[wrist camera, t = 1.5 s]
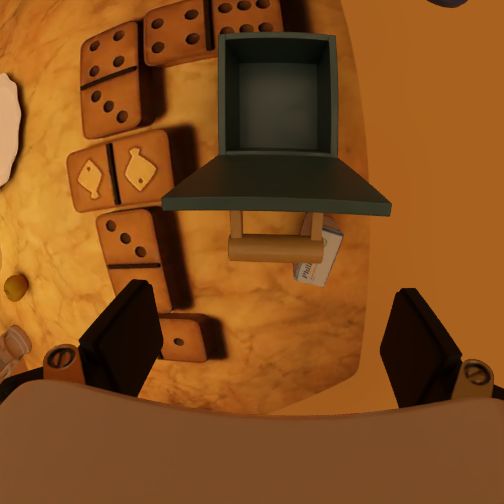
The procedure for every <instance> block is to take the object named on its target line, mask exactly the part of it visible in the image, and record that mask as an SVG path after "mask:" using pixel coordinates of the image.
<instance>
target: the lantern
mask: <svg viewBox="0 0 504 504" xmlns="http://www.w3.org/2000/svg"><path fill="white" fill-rule="evenodd" d="M3 338H4V339H3ZM31 347H32V345H31V342H30V340H29V338H28V336H27V335H26V333H25V332H24V331H23V330H22V329H21V328H20V327H18V326H16V325H14V326H12V327H10V328H9V329H8V331H7V332H6V333H4V334H2V335H1V336H0V383H1V381H2V380H3V379H4V378H7V377H8V376H9V375H10V373H12V371H13V370H14V369H15V368H16V367H17V366H18V364H19V363H20V362H21V361H22V359H23V356H24V355H25V354H28V353H29V351H30V349H31ZM13 364H16V365H15V366H14V367H13V368H12V369H11V367H12V365H13ZM8 370H9V371H8ZM7 371H8V374H5V373H6V372H7Z"/></svg>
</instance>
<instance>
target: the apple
mask: <svg viewBox="0 0 504 504" xmlns="http://www.w3.org/2000/svg"><path fill="white" fill-rule="evenodd" d="M27 287H28V285H27V281H26V279H25V278H24V277H23V276H22V275H14V276H11V277H9V278H8V279H7V280H6V282H5V284H4V291H5V293H6V295H7V297H8V299H9V300H11V301H13V302H16V301H19V300H20V299H21V298H22V297H23V296H24V295H25V293H26V290H27Z"/></svg>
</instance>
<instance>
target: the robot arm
mask: <svg viewBox="0 0 504 504" xmlns="http://www.w3.org/2000/svg"><path fill="white" fill-rule="evenodd" d="M79 343H80V346H79V347H78V348H77V347H75V346H74V345H71V344H61V345H58V346H55V347H53V348H52V349H50V350H49V351H48V352H47V353H46V355H45V357H44V360H43V367H40V368H36V369H33V370H30V371H27V372H24V373H21V374H17V375H14V376H11V377H9V378H6V379H4V380H3V381H2V383H1V384H0V504H504V389H503V388H501V387H498V386H496V385H494V374H493V372H492V370H491V368H490V367H489V366H488V365H487V364H485V363H484V362H482V361H480V360H476V359H469V360H465V361H464V362H462V361H461V359H460V358H461V356H462V353H461V352H460V350H459V348H458V347H457V345H456V344H455V342H454V341H453V339H452V338H451V336H450V335H449V333H448V332H447V330H446V329H445V327H444V326H443V325H442V323H441V322H440V320H439V319H438V318H437V316H436V315H435V313H434V312H433V311H432V309H431V308H430V307H429V305H428V304H427V303H426V301H425V300H424V299H423V297H422V296H421V295H420V293H419V292H418V291H417V289H415V288H402V289H401V290H400V291H399V292H397V293H396V294H395V298H394V302H393V305H392V309H391V313H390V317H389V320H388V323H387V327H386V330H385V333H384V336H383V340H382V343H381V346H380V355H381V358H382V361H383V363H384V366H385V369H386V371H387V374H388V377H389V380H390V382H391V386H392V388H393V391H394V394H395V397H396V400H397V403H398V406H399V409H391V410H384V411H375V412H366V413H354V414H339V415H314V416H313V415H311V416H284V415H283V416H282V415H258V414H243V413H231V412H221V411H212V410H204V409H197V408H190V407H183V406H177V405H171V404H166V403H161V402H156V401H151V400H146V399H141V398H137V396H138V394H139V392H140V390H141V388H142V386H143V384H144V382H145V380H146V378H147V376H148V374H149V372H150V370H151V368H152V366H153V364H154V362H155V360H156V358H157V356H158V354H159V352H160V350H161V348H162V346H163V335H162V331H161V326H160V322H159V317H158V312H157V308H156V303H155V297H154V292H153V287H152V285H151V284H149V283H148V281H147V280H138V279H133V280H131V281H130V282H129V283H128V285H127V286H126V287H125V288H124V289H123V290H122V291H121V292H120V293H119V294H118V295H117V297H116V298H115V299H114V300H113V301H112V302H111V303H110V304H109V305H108V307H107V308H106V309H105V310H104V311H103V312H102V313H101V314H100V316H99V317H98V318H97V319H96V320H95V321H94V322H93V324H92V325H91V326H90V327H89V328H88V329H87V331H86V332H85V333H84V334H83V335H82V337H81V338H80V339H79Z"/></svg>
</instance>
